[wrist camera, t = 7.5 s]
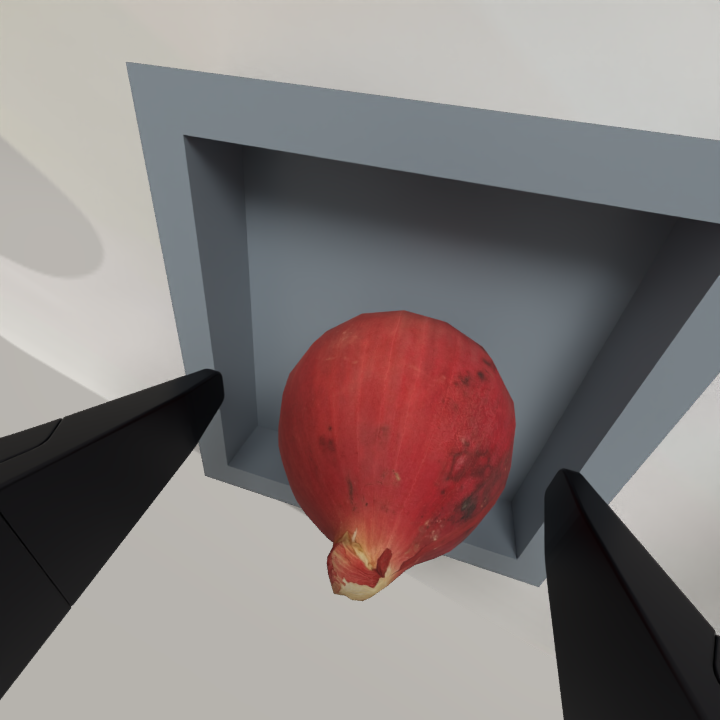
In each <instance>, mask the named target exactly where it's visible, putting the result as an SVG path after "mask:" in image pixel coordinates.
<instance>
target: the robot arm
mask: <svg viewBox="0 0 720 720" xmlns="http://www.w3.org/2000/svg"><path fill="white" fill-rule="evenodd" d="M224 397H225V392H224V384H223V376H222V374H221V372H219V371H216V370H213V369H208V368H206V369H203V370H200V371H197V372H194V373H191V374H188V375H185V376H182V377H179V378H176V379H173V380H171V381H168V382H165V383H162V384H159V385H156V386H153V387H150V388H147V389H144V390H141V391H138V392H136V393H133V394H130V395H127V396H124V397H121V398H118V399H115V400H112V401H109V402H106V403H104V404H101V405H98V406H95V407H92V408H89V409H86V410H83V411H80V412H77V413H74V414H72V415H69V416H66V417H64V418H63V419H61V418H60V419H57V420H54V421H51V422H48V423H46V424H42V425H39V426H36V427H33V428H30V429H27V430H24V431H21V432H18V433H15V434H12V435H8V436H5V437H2V438H0V700H1V698H2V697H3V696H4V694H5V693H6V692H7V690H8V689H9V688H10V687H11V685H12V684H13V683H14V681H15V680H16V679H17V678H18V676H19V675H20V674H21V672H22V671H23V670H24V668H25V667H26V666H27V665H28V663H29V662H30V661H31V659H32V658H33V657H34V655H35V654H36V653H37V652H38V650H39V649H40V648H41V646H42V645H43V644H44V643H45V641H46V640H47V639H48V637H49V636H50V635H51V634H52V632H53V631H54V630H55V628H56V627H57V626H58V624H59V623H60V622H61V621H62V619H63V618H64V617H65V615H66V614H67V613H68V612H69V610H70V609H71V606H72V605H73V604H74V603H75V602H76V601H77V599H78V598H79V597H80V596H81V594H82V593H83V592H84V590H85V589H86V588H87V587H88V585H89V584H90V583H91V581H92V580H93V579H94V577H95V576H96V575H97V574H98V572H99V571H100V570H101V568H102V567H103V566H104V565H105V563H106V562H107V560H108V559H109V558H110V557H111V555H112V554H113V553H114V552H115V550H116V549H117V548H118V546H119V545H120V543H121V542H122V541H123V540H124V539H125V537H126V536H127V535H128V533H129V532H130V531H131V530H132V528H133V527H134V526H135V524H136V523H137V522H138V521H139V519H140V518H141V516H142V515H143V514H144V513H145V511H146V510H147V509H148V507H149V506H150V505H151V504H152V502H153V501H154V500H155V498H156V497H157V496H158V494H159V493H160V492H161V491H162V489H163V488H164V487H165V486H166V484H167V483H168V482H169V480H170V479H171V478H172V476H173V475H174V474H175V472H176V471H177V470H178V469H179V467H180V466H181V465H182V463H183V462H184V461H185V460H186V458H187V457H188V456H189V454H190V453H191V452H192V450H193V449H194V448H195V446H196V445H197V443H198V442H199V440H200V439H201V437H202V435H203V434H204V432H205V431H206V429H207V427H208V426H209V424H210V422H211V421H212V419H213V418H214V416H215V414H216V413H217V411H218V409H219V408H220V406H221V405H222V403H223V401H224ZM544 555H545V568H546V577H547V585H548V593H549V602H550V610H551V618H552V626H553V635H554V643H555V651H556V659H557V667H558V676H559V684H560V692H561V700H562V709H563V717H564V720H720V636H719V635H716V632H715V630H714V629H713V627H712V626H711V625H710V624H709V623H708V622H707V620H706V619H705V618H704V617H703V616H702V615H701V613H700V612H699V611H698V610H697V609H696V608H695V606H694V605H693V604H692V603H691V602H690V601H689V599H688V598H687V597H686V596H685V595H684V593H683V592H682V591H681V590H680V589H679V588H678V586H677V585H676V584H675V583H674V582H673V581H672V579H671V578H670V577H669V576H668V575H667V574H666V572H665V571H664V570H663V569H662V568H661V567H660V565H659V564H658V563H657V562H656V561H655V559H654V558H653V557H652V556H651V555H650V554H649V552H648V551H647V550H646V549H645V548H644V547H643V545H642V544H641V543H640V542H639V541H638V540H637V538H636V537H635V536H634V535H633V534H632V533H631V531H630V530H629V529H628V528H627V527H626V525H625V524H624V523H623V522H622V521H621V520H620V518H619V517H618V516H617V515H616V514H615V513H614V511H613V510H612V509H611V508H610V507H609V506H608V504H607V503H606V502H605V501H604V500H603V499H602V497H601V496H600V495H599V494H598V493H597V491H596V490H595V489H594V488H593V487H592V486H591V484H590V483H589V482H588V481H587V480H586V479H585V477H584V476H583V475H582V474H581V473H579V472H577V471H573V470H570V469H566V468H561V469H559V470H558V471H557V473H556V474H555V476H554V477H553V479H552V481H551V482H550V484H549V485H548V487H547V488H546V491H545V495H544Z"/></svg>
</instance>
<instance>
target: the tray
mask: <svg viewBox="0 0 720 720" xmlns="http://www.w3.org/2000/svg"><path fill="white" fill-rule="evenodd" d="M126 65H127V71H128V76H129V81H130V86H131V92H132V97H133V102H134V107H135V112H136V118H137V123H138V128H139V133H140V138H141V144H142V149H143V154H144V159H145V165H146V170H147V175H148V180H149V185H150V191H151V196H152V201H153V206H154V212H155V217H156V222H157V227H158V232H159V238H160V243H161V248H162V253H163V259H164V264H165V269H166V274H167V279H168V285H169V290H170V295H171V300H172V306H173V311H174V316H175V321H176V326H177V332H178V337H179V342H180V347H181V352H182V358H183V363H184V368H185V373H186V375H188V374H191V373H194V372H197V371H200V370H203V369H206V368H208V369H213V370H216V371H219V372H221V374H222V376H223V384H224V392H225V397H224V401H223V403H222V405H221V406H220V408H219V409H218V411H217V413H216V414H215V416H214V418H213V419H212V421H211V422H210V424H209V426H208V427H207V429H206V431H205V432H204V434H203V435H202V437H201V439H200V440H199V446H200V452H201V457H202V462H203V467H204V473H205V476H208V477H211V478H214V479H217V480H220V481H223V482H226V483H229V484H232V485H234V486H238V487H240V488H243V489H246V490H250V491H252V492H256V493H258V494H262V495H264V496H267V497H270V498H273V499H276V500H279V501H282V502H285V503H288V504H291V505H294V506H297V507H300V505H299V504H298V502H297V501H296V499H295V496H294V494H293V492H292V490H291V488H290V485H289V482H288V479H287V475H286V472H285V469H284V466H283V463H282V459H281V455H280V451H279V446H278V426H279V418H280V410H281V403H282V395H283V391H284V388H285V385H286V382H287V379H288V376H289V374H290V372H291V371H292V370H293V368H294V367H295V366H296V365H297V363H298V362H299V361H300V359H301V358H302V357H303V355H304V354H305V353H306V352H307V350H308V349H309V348H310V346H311V345H312V344H313V343H314V342H315V341H316V340H317V339H318V338H319V337H320V336H322V335H323V334H324V333H325V332H326V331H328V330H330V329H332V328H334V327H336V326H338V325H340V324H342V323H344V322H346V321H348V320H350V319H352V318H354V317H356V316H358V315H360V314H363V313H375V312H387V311H400V310H405V311H409V312H412V313H416V314H420V315H423V316H427V317H430V318H434V319H438V320H441V321H445V322H447V323H449V324H450V325H451V326H453V327H454V328H456V329H457V330H459V331H460V332H462V333H463V334H465V335H466V336H468V337H469V338H471V339H472V340H474V341H475V342H476V343H478V344H479V345H481V346H482V347H483V348H484V349H485V350H486V352H487V353H488V355H489V356H490V357H491V359H492V360H493V362H494V364H495V366H496V368H497V370H498V372H499V374H500V376H501V378H502V380H503V382H504V384H505V386H506V388H507V390H508V392H509V394H510V396H511V398H512V400H513V402H514V409H515V420H516V428H515V436H514V445H513V453H512V462H511V468H510V472H509V475H508V479H507V482H506V486H505V488H504V490H503V491H502V493H501V495H500V496H499V498H498V500H497V501H496V503H495V505H494V506H493V507H492V508H491V510H490V511H489V512H488V513H487V515H486V516H485V517H484V518H483V520H482V521H481V522H480V523H479V525H478V526H477V527H476V528H475V529H474V531H473V532H472V533H471V534H470V535H469V536H468V537H467V538H466V539H465V540H464V541H463V542H462V543H460V544H459V545H458V546H456V547H455V548H454V549H452V550H451V551H450V552H448V553H445V554H443V555H444V556H447V557H450V558H453V559H456V560H459V561H462V562H465V563H468V564H471V565H474V566H477V567H480V568H483V569H486V570H489V571H492V572H495V573H498V574H501V575H504V576H507V577H510V578H513V579H516V580H519V581H522V582H525V583H528V584H531V585H534V586H537V587H539V586H540V585H541V584H542V582H543V581H544V580H545V579H546V578H547V577H546V568H545V555H544V495H545V491H546V488H547V487H548V485H549V484H550V482H551V481H552V479H553V477H554V476H555V474H556V473H557V471H558V470H559V469H561V468H566V469H570V470H573V471H577V472H579V473H581V474H582V475H583V476H584V477H585V479H586V480H587V481H588V482H589V483H590V484H591V486H592V487H593V488H594V489H595V490H596V491H597V493H598V494H599V495H600V496H601V497H602V499H603V500H604V501H605V502H606V503H607V504H609V503H610V502H611V501H612V500H613V498H614V497H615V496H616V495H617V494H618V492H619V491H620V490H621V489H622V488H623V486H624V485H625V484H626V483H627V482H628V481H629V479H630V478H631V477H632V476H633V475H634V473H635V472H636V471H637V470H638V469H639V468H640V466H641V465H642V464H643V463H644V462H645V460H646V459H647V458H648V457H649V456H650V455H651V453H652V452H653V451H654V450H655V449H656V447H657V446H658V445H659V444H660V443H661V442H662V440H663V439H664V438H665V437H666V436H667V434H668V433H669V432H670V431H671V430H672V428H673V427H674V426H675V425H676V424H677V423H678V421H679V420H680V419H681V418H682V417H683V415H684V414H685V413H686V412H687V411H688V410H689V408H690V407H691V406H692V405H693V404H694V402H695V401H696V400H697V399H698V398H699V397H700V395H701V394H702V393H703V392H704V391H705V389H706V388H707V387H708V386H709V385H710V384H711V382H712V381H713V380H714V379H715V378H716V376H717V375H718V374H719V373H720V141H719V140H711V139H704V138H696V137H689V136H681V135H674V134H666V133H659V132H651V131H644V130H636V129H628V128H621V127H613V126H606V125H598V124H591V123H583V122H576V121H568V120H561V119H553V118H546V117H538V116H531V115H523V114H516V113H508V112H500V111H493V110H485V109H478V108H470V107H463V106H455V105H448V104H440V103H433V102H425V101H418V100H410V99H403V98H395V97H388V96H380V95H372V94H365V93H357V92H350V91H342V90H335V89H327V88H320V87H312V86H305V85H297V84H290V83H282V82H275V81H267V80H260V79H252V78H244V77H237V76H229V75H222V74H214V73H207V72H199V71H192V70H184V69H177V68H169V67H162V66H154V65H147V64H139V63H132V62H126ZM300 508H301V507H300Z"/></svg>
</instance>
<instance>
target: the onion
mask: <svg viewBox="0 0 720 720" xmlns="http://www.w3.org/2000/svg"><path fill="white" fill-rule="evenodd" d="M515 428H516V420H515V409H514V402H513V400H512V398H511V396H510V394H509V392H508V390H507V388H506V386H505V384H504V382H503V380H502V378H501V376H500V374H499V372H498V370H497V368H496V366H495V364H494V362H493V360H492V359H491V357H490V356H489V355H488V353H487V352H486V350H485V349H484V348H483V347H482V346H481V345H479V344H478V343H476V342H475V341H474V340H472V339H471V338H469V337H468V336H466V335H465V334H463V333H462V332H460V331H459V330H457V329H456V328H454V327H453V326H451V325H450V324H449V323H447V322H445V321H441V320H438V319H434V318H430V317H427V316H423V315H420V314H416V313H412V312H409V311H405V310H400V311H387V312H375V313H363V314H360V315H358V316H356V317H354V318H352V319H350V320H348V321H346V322H344V323H342V324H340V325H338V326H336V327H334V328H332V329H330V330H328V331H326V332H325V333H324V334H323V335H322V336H320V337H319V338H318V339H317V340H316V341H315V342H314V343H313V344H312V345H311V346H310V348H309V349H308V350H307V352H306V353H305V354H304V355H303V357H302V358H301V359H300V361H299V362H298V363H297V365H296V366H295V367H294V368H293V370H292V371H291V372H290V374H289V376H288V379H287V382H286V385H285V388H284V391H283V395H282V403H281V410H280V418H279V426H278V446H279V451H280V455H281V459H282V463H283V466H284V469H285V472H286V475H287V479H288V482H289V485H290V488H291V490H292V492H293V494H294V496H295V499H296V501H297V502H298V504H299V505H300V507H301V508H302V509H303V511H304V512H305V514H306V515H307V516H308V517H309V518H310V519H311V521H312V522H313V523H314V524H315V525H316V526H317V527H318V528H319V530H320V531H321V532H322V533H323V534H324V535H325V536H326V537H327V538H328V539H329V540H331V541H332V542H333V548H332V549H331V551H330V553H329V555H328V557H327V569H328V575H329V579H330V582H331V586H332V589H333V593H334V594H338V595H345V596H347V597H348V598H350V599H352V600H358V601H364V600H366V599H368V598H370V597H372V596H374V595H375V594H376V593H378V592H379V591H380V590H382V589H384V588H385V587H387V586H388V585H389V584H390V583H391V582H393V581H394V580H395V579H396V578H397V577H398V576H400V575H401V574H402V573H403V572H404V571H405V570H407V569H409V568H411V567H412V566H414V565H416V564H419V563H422V562H425V561H428V560H431V559H434V558H436V557H439V556H441V555H443V554H445V553H448V552H450V551H451V550H452V549H454V548H455V547H456V546H458V545H459V544H460V543H462V542H463V541H464V540H465V539H466V538H467V537H468V536H469V535H470V534H471V533H472V532H473V531H474V529H475V528H476V527H477V526H478V525H479V523H480V522H481V521H482V520H483V518H484V517H485V516H486V515H487V513H488V512H489V511H490V510H491V508H492V507H493V506H494V505H495V503H496V501H497V500H498V498H499V496H500V495H501V493H502V491H503V490H504V488H505V486H506V482H507V479H508V475H509V472H510V468H511V462H512V453H513V445H514V436H515Z"/></svg>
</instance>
